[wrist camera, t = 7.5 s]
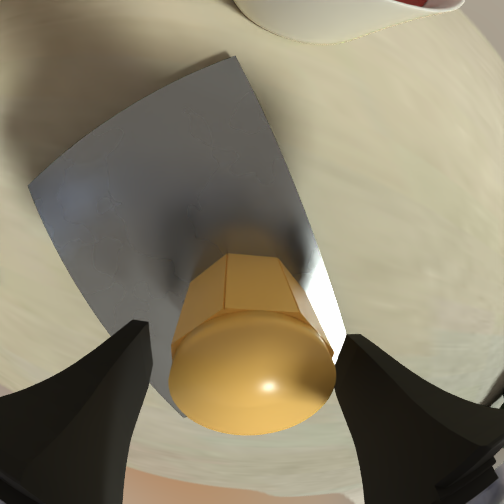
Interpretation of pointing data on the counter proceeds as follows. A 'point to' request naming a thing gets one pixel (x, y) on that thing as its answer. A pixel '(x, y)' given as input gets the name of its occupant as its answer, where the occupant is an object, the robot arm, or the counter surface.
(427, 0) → the candle
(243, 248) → the plate
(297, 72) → the counter surface
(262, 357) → the orange cap
